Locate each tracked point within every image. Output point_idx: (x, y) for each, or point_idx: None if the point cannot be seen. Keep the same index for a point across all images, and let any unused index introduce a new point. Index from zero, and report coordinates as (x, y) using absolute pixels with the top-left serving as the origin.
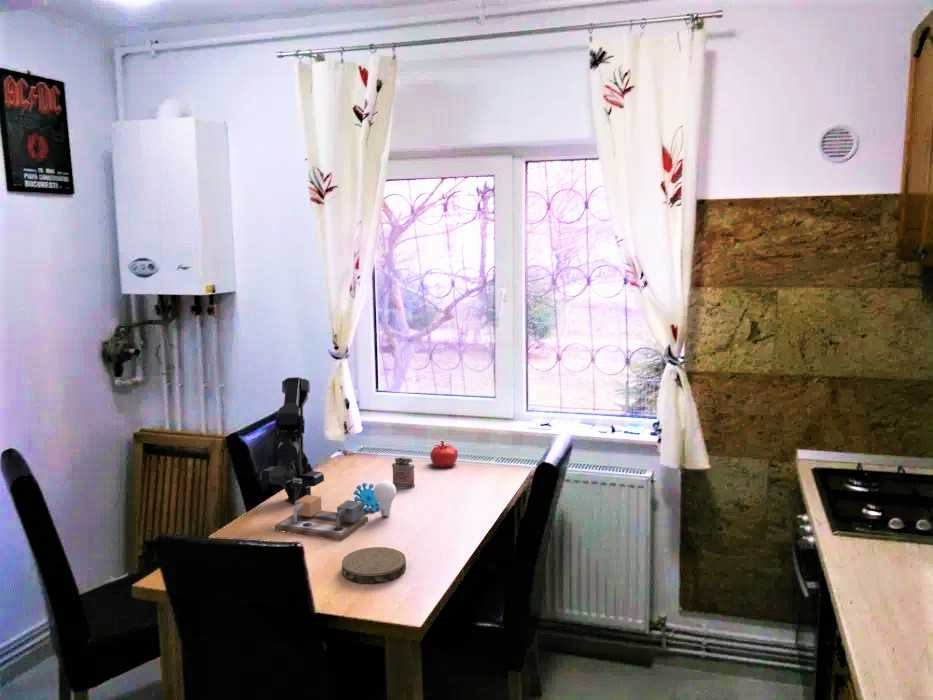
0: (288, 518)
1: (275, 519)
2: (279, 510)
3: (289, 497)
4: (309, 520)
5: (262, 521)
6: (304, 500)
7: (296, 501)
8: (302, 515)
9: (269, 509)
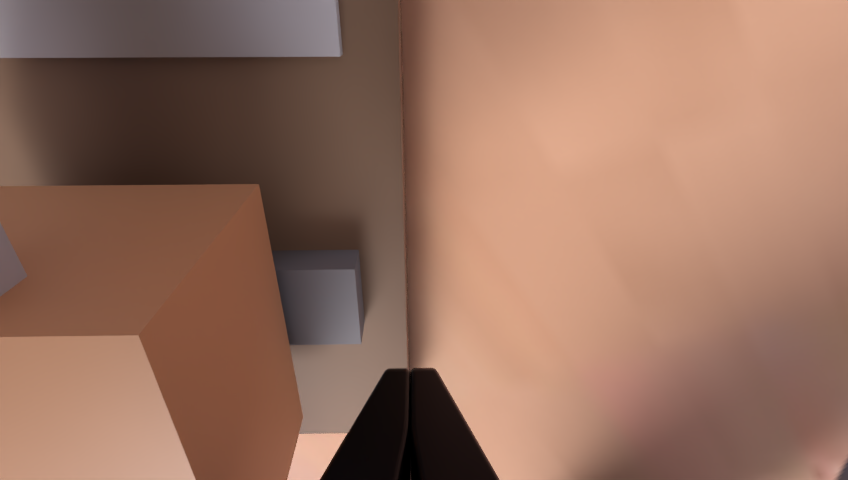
0: (373, 116)
1: (620, 161)
2: (680, 369)
3: (463, 473)
4: (24, 151)
5: (775, 40)
6: (2, 448)
7: (107, 348)
8: (129, 186)
9: (794, 361)
